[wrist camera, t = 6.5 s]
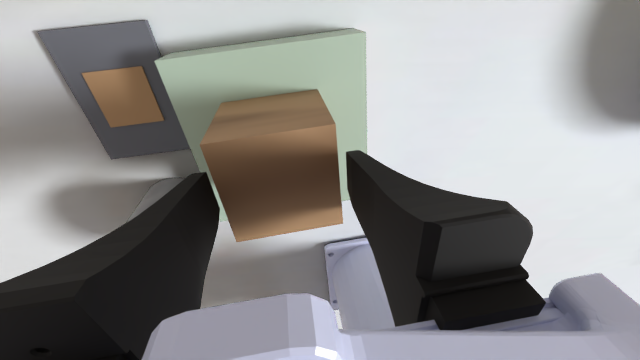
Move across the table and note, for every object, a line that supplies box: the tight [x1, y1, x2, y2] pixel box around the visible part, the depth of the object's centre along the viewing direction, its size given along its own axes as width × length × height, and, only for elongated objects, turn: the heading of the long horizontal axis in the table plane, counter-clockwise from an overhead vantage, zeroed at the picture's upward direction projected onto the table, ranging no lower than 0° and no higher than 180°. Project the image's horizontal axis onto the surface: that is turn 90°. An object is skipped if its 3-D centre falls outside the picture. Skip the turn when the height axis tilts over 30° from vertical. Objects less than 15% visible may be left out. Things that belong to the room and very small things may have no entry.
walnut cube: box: [200, 89, 343, 242], centre depth 13 cm, size 5×5×5 cm
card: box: [38, 20, 190, 159], centre depth 15 cm, size 7×5×1 cm
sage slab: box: [154, 28, 367, 222], centre depth 17 cm, size 10×10×3 cm
